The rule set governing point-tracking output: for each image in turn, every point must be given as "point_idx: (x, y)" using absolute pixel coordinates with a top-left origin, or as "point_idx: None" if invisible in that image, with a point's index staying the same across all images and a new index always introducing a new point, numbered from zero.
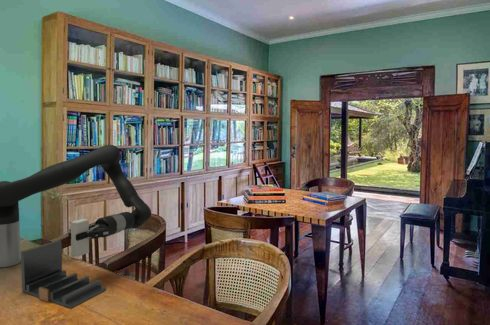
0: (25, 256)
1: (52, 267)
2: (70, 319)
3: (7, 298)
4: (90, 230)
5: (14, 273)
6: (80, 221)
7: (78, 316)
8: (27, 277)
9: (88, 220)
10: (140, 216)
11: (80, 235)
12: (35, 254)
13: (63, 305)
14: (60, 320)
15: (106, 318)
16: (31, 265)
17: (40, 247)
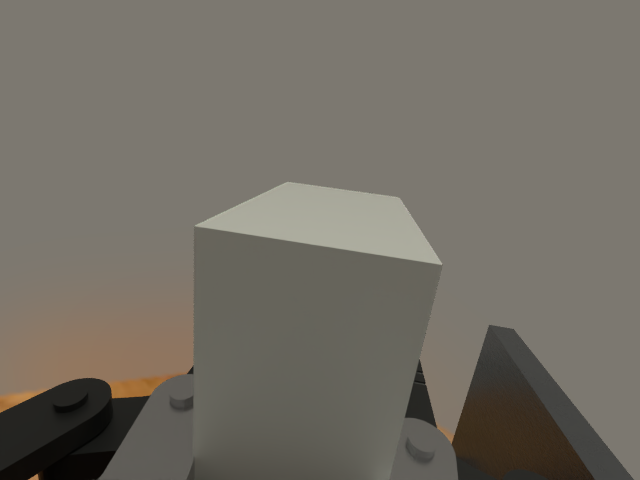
0: (486, 351)
1: None
2: (151, 380)
3: (447, 437)
4: (145, 449)
5: None
6: (293, 196)
7: (129, 396)
8: (459, 444)
9: (198, 243)
10: None
11: None
12: (505, 395)
13: None
14: (181, 373)
15: (16, 402)
16: (480, 421)
17: (532, 392)
